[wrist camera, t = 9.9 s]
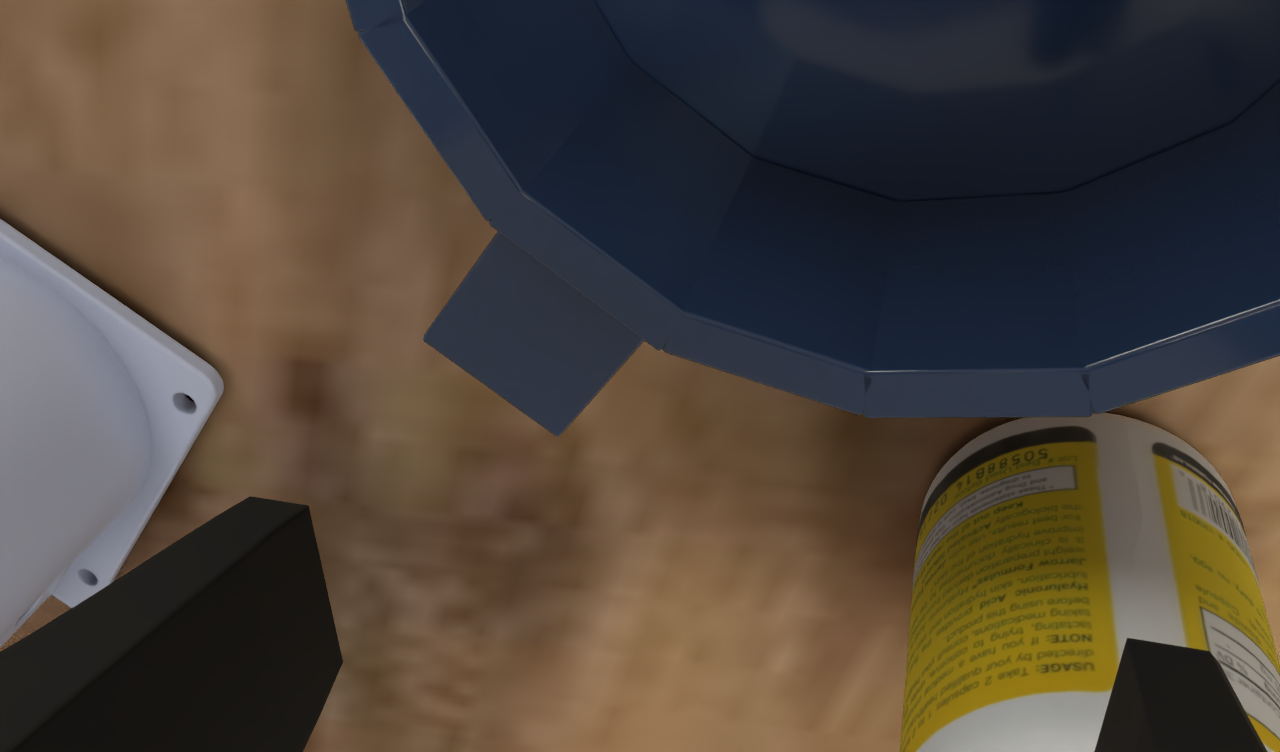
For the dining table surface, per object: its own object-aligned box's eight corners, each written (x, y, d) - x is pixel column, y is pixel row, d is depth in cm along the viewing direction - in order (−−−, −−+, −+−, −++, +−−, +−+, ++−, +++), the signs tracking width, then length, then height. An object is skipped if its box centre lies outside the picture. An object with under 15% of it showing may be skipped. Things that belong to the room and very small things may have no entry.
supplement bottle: (887, 591, 23) (827, 1108, 15) (965, 365, 20) (941, 866, 12) (1169, 668, 22) (1260, 1253, 15) (1295, 446, 19) (1498, 1034, 11)
